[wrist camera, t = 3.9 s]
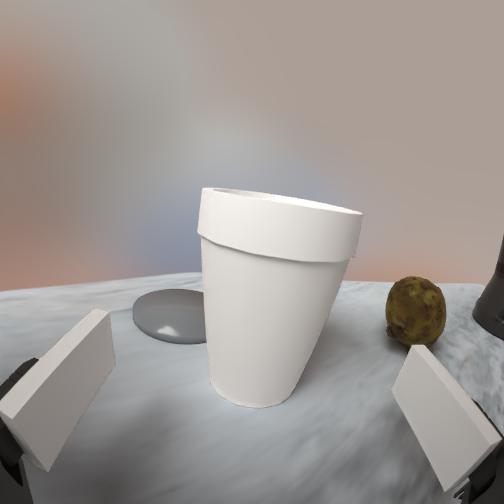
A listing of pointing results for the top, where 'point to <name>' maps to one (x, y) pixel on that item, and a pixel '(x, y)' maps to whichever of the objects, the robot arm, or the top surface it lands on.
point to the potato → (415, 311)
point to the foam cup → (268, 287)
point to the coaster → (172, 316)
